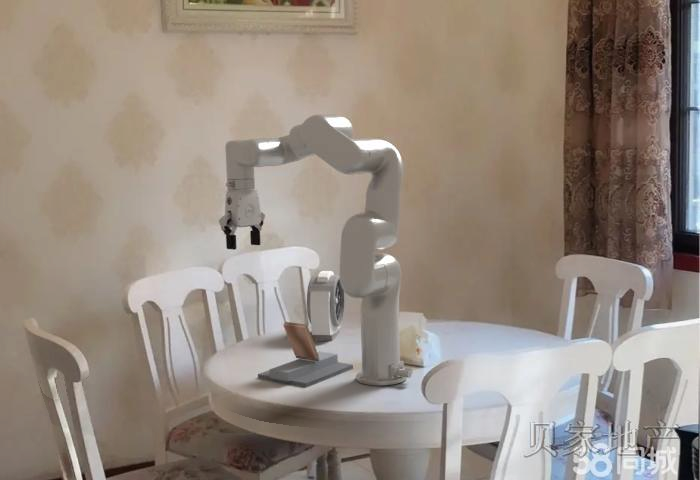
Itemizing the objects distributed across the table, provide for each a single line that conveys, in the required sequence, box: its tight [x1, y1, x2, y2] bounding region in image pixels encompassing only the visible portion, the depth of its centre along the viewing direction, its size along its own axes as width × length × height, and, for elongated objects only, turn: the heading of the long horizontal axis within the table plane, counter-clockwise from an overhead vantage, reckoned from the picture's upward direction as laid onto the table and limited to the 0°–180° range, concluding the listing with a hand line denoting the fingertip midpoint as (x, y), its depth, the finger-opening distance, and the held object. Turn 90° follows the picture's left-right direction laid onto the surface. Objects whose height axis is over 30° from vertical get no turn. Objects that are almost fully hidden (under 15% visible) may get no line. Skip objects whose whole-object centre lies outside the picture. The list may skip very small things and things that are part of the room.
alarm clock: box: [306, 270, 346, 342], centre depth 256 cm, size 18×8×20 cm, turn 168°
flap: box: [282, 321, 319, 361], centre depth 215 cm, size 7×11×1 cm
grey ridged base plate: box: [257, 351, 354, 388], centre depth 217 cm, size 16×20×3 cm
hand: (243, 247), depth 232 cm, fingers open, 9 cm apart
